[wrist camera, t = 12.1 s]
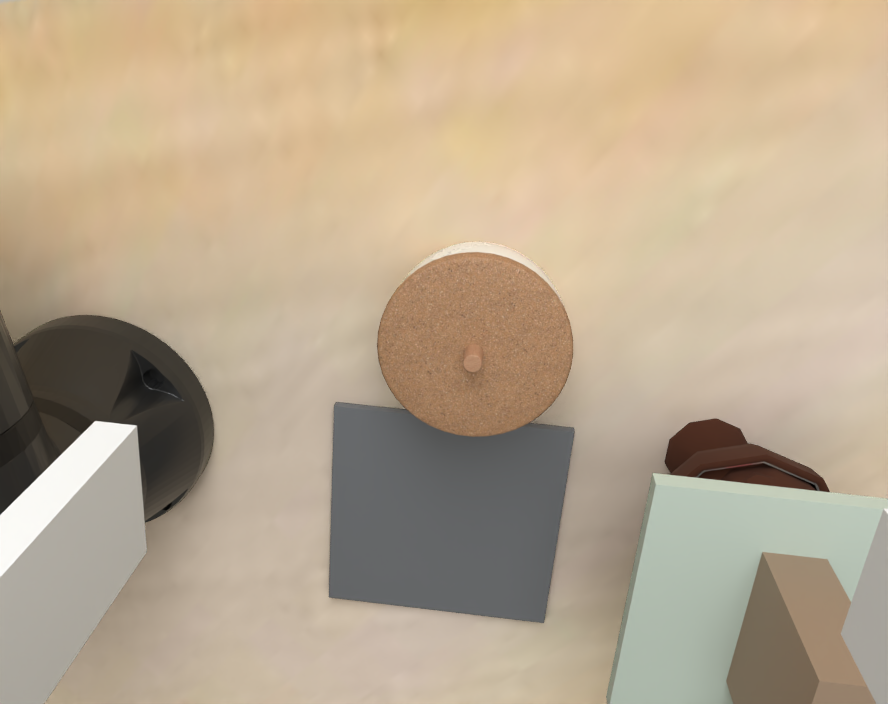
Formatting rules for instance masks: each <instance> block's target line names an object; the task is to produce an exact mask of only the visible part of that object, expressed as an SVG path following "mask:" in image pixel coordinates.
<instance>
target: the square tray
mask: <svg viewBox="0 0 888 704" xmlns="http://www.w3.org/2000/svg"><path fill="white" fill-rule="evenodd" d="M573 437H574V428H571V427H562V426H553V425H543V424H534V423H528V424H526V425H524V426H522V427H520V428H518V429H516V430H513V431H509V432H506V433H503V434H498V435H492V436H481V437H471V436H462V435H456V434H452V433H448V432H444V431H442V430H439V429H437V428H434V427H432V426H430V425H428V424H426V423H425V422H423V421H421V420H420V419H418V418H416V417H415V416H414V415H413V414H412V413H410V412H409V411H408V410H405V409H396V408H386V407H377V406H368V405H359V404H349V403H340V402H336V403H335V405H334V433H333V469H332V505H331V541H330V577H329V597H330V598H339V599H347V600H355V601H364V602H372V603H381V604H389V605H397V606H406V607H414V608H422V609H431V610H439V611H448V612H456V613H464V614H473V615H481V616H489V617H498V618H506V619H514V620H523V621H531V622H540V623H544V619H545V613H546V607H547V600H548V594H549V588H550V582H551V575H552V569H553V563H554V557H555V550H556V544H557V538H558V531H559V525H560V519H561V513H562V506H563V500H564V494H565V488H566V481H567V475H568V469H569V463H570V456H571V450H572V444H573Z"/></svg>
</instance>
